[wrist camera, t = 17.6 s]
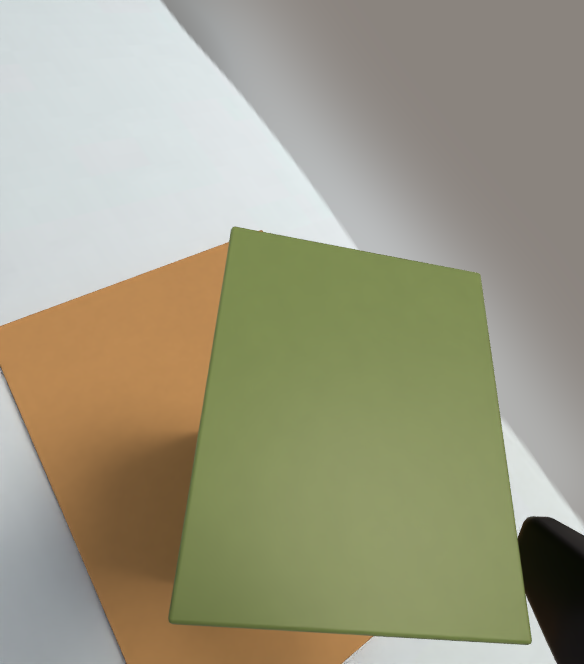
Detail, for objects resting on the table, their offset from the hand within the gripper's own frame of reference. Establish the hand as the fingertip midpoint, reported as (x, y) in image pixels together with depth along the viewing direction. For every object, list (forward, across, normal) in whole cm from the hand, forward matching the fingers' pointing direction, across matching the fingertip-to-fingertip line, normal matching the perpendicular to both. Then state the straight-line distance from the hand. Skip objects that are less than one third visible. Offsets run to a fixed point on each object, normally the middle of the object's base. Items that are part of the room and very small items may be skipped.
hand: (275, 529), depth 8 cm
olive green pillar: (+8, -1, +6) cm, 9 cm away
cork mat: (+10, 0, +4) cm, 10 cm away
